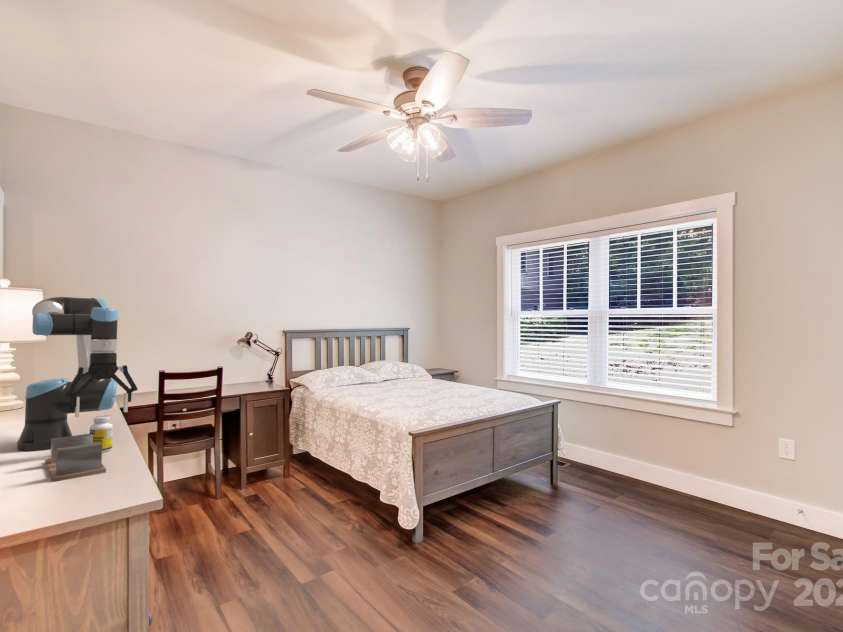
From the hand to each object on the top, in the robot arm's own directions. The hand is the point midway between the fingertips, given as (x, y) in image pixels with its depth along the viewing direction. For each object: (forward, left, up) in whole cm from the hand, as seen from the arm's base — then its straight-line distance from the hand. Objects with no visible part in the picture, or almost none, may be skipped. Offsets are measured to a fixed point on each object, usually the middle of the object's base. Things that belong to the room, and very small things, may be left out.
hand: (102, 414), depth 152 cm
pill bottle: (0, 0, -13) cm, 13 cm away
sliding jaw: (+8, -9, -12) cm, 17 cm away
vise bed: (+17, -9, -13) cm, 23 cm away
